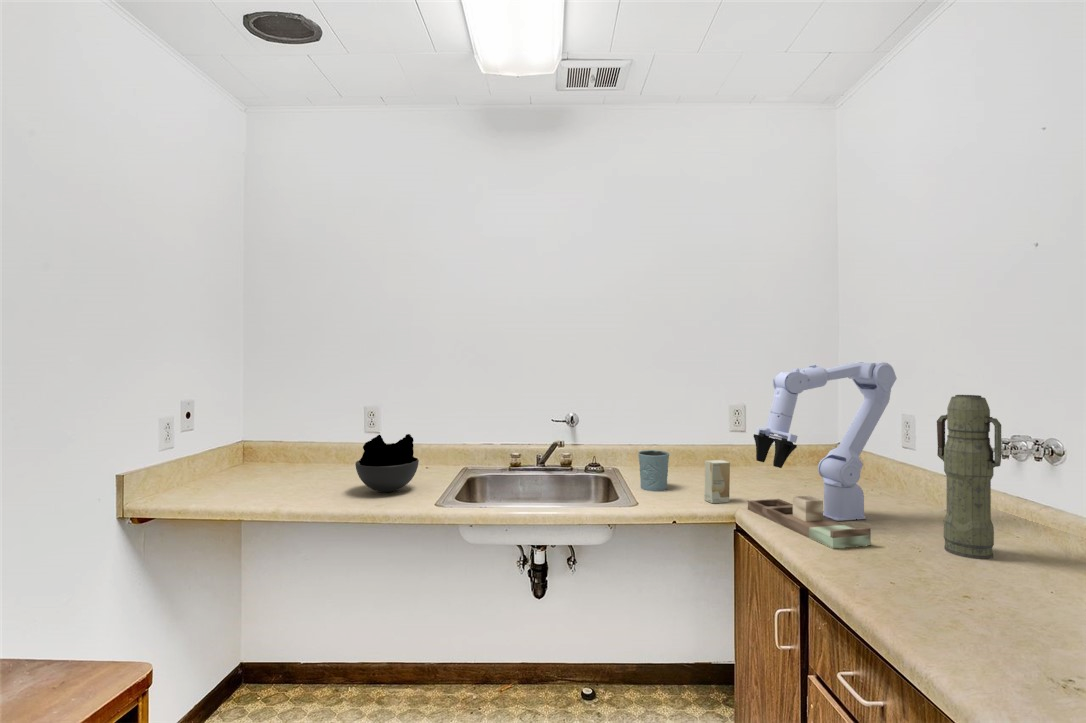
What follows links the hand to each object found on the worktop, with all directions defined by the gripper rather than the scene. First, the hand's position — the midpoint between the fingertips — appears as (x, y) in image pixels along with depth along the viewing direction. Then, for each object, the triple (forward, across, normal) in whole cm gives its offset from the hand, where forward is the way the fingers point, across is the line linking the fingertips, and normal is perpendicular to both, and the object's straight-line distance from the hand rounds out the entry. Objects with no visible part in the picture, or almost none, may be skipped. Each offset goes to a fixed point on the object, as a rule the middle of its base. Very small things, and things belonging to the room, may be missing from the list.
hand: (768, 464), depth 148 cm
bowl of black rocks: (+43, -56, -94) cm, 118 cm away
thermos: (+7, +31, +32) cm, 45 cm away
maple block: (+10, +8, +9) cm, 16 cm away
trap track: (+13, +6, +10) cm, 17 cm away
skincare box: (+16, -21, +1) cm, 26 cm away
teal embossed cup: (+19, -41, -10) cm, 46 cm away
